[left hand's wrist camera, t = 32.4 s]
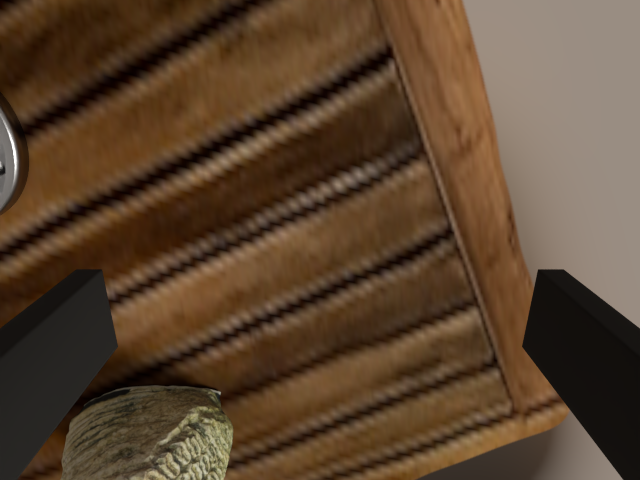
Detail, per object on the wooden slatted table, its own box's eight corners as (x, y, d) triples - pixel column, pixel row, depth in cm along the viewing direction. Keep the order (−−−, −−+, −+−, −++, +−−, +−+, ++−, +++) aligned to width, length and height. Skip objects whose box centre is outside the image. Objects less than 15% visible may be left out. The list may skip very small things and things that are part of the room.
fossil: (252, 417, 47) (223, 559, 33) (108, 457, 49) (24, 606, 35) (220, 355, 44) (173, 483, 30) (68, 401, 46) (-41, 540, 32)
